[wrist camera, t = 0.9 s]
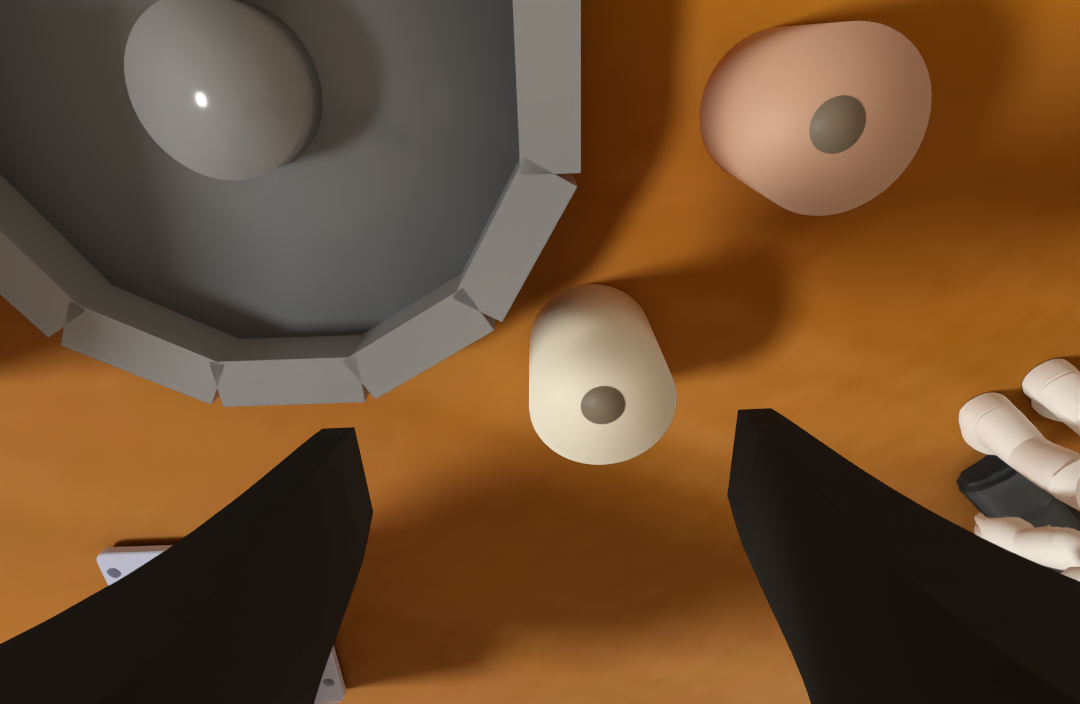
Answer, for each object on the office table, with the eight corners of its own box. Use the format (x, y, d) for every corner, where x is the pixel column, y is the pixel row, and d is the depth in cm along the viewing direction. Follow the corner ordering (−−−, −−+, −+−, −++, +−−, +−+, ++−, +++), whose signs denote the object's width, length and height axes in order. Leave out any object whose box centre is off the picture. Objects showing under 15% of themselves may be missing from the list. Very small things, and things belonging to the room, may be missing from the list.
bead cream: (647, 391, 21) (671, 462, 17) (531, 394, 21) (531, 467, 17) (653, 281, 19) (682, 336, 15) (527, 286, 19) (525, 341, 15)
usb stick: (940, 470, 23) (966, 497, 22) (1005, 429, 22) (1036, 454, 21) (1051, 589, 26) (1080, 620, 25) (1112, 557, 25) (1145, 586, 24)
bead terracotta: (829, 179, 18) (906, 213, 14) (693, 183, 18) (735, 219, 14) (858, 23, 16) (955, 17, 12) (706, 28, 16) (758, 24, 12)
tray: (575, 355, 20) (580, 394, 18) (65, 373, 20) (7, 414, 18) (571, -381, 12) (581, -474, 10) (-257, -352, 12) (-430, -439, 10)
